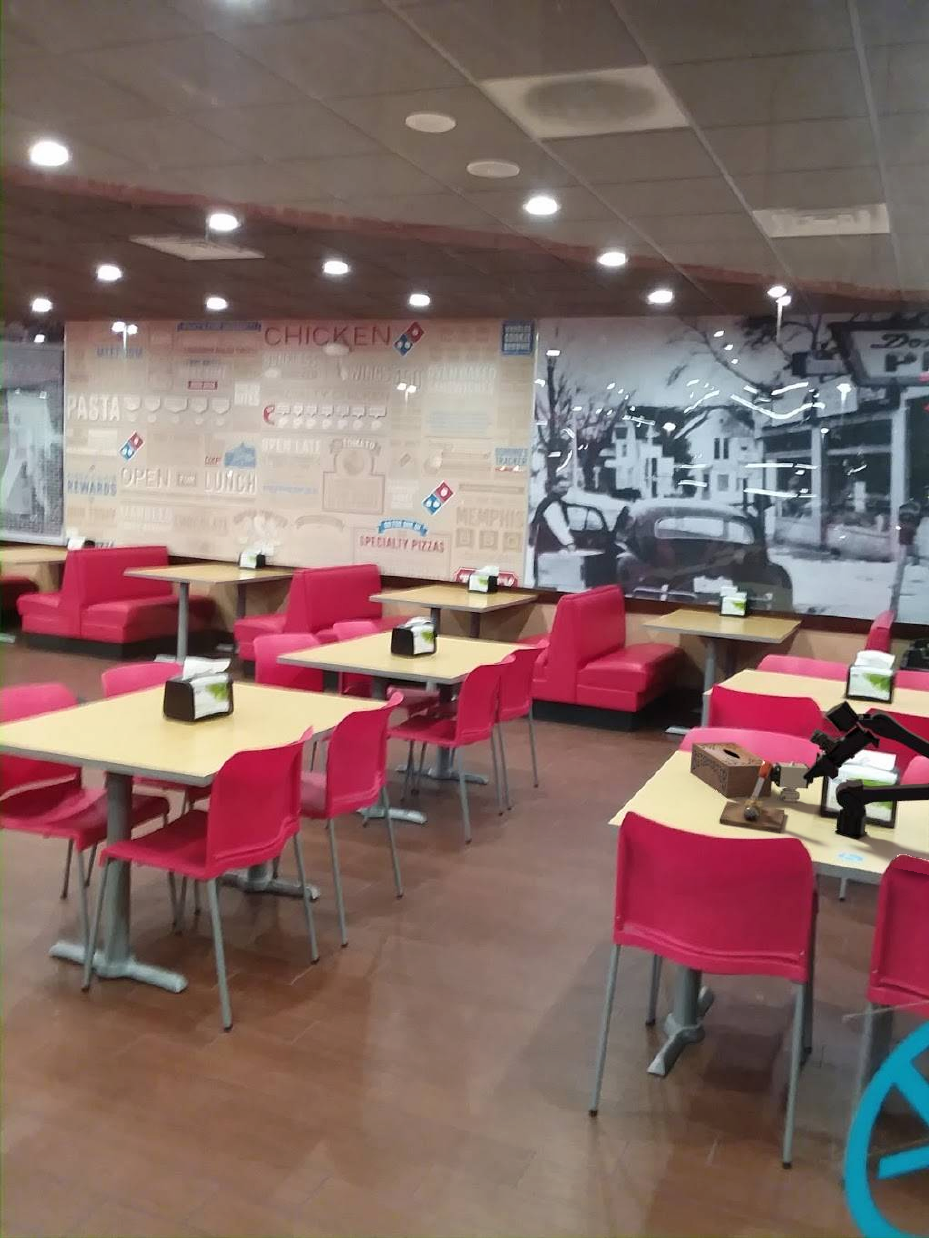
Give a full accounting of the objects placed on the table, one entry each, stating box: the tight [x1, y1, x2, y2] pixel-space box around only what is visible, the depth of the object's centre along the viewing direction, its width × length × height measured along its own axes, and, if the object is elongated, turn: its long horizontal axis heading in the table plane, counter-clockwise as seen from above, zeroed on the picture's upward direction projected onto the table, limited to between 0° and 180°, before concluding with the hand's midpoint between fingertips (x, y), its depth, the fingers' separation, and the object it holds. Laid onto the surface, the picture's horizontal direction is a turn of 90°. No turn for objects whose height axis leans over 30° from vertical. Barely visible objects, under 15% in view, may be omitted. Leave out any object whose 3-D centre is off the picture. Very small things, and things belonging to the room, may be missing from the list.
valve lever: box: [749, 759, 774, 801], centre depth 285 cm, size 3×3×12 cm
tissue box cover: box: [689, 741, 774, 799], centre depth 318 cm, size 26×14×10 cm, turn 12°
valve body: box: [743, 797, 763, 821], centre depth 287 cm, size 4×12×6 cm, turn 159°
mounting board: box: [718, 801, 785, 833], centre depth 287 cm, size 16×17×1 cm
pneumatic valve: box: [770, 761, 815, 803], centre depth 304 cm, size 6×12×12 cm, turn 87°
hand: (803, 778), depth 281 cm, fingers closed
